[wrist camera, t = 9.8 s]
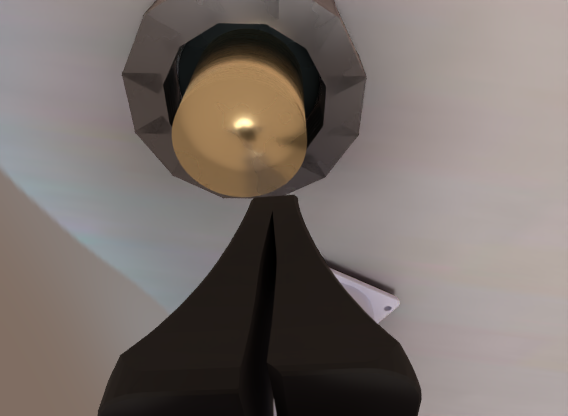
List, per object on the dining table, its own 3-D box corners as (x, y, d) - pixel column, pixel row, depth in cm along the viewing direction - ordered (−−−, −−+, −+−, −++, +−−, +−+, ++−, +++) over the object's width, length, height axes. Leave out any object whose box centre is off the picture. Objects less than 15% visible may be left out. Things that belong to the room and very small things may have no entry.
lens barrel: (286, 196, 25) (285, 226, 23) (113, 115, 22) (96, 141, 20) (400, 44, 20) (414, 66, 18) (193, -95, 16) (180, -88, 14)
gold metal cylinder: (269, 146, 23) (265, 214, 18) (179, 100, 21) (152, 163, 17) (323, 65, 20) (333, 122, 16) (224, 5, 18) (205, 51, 14)
